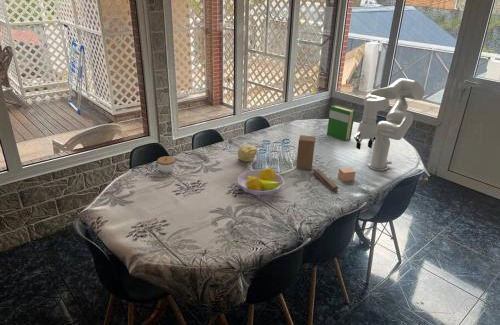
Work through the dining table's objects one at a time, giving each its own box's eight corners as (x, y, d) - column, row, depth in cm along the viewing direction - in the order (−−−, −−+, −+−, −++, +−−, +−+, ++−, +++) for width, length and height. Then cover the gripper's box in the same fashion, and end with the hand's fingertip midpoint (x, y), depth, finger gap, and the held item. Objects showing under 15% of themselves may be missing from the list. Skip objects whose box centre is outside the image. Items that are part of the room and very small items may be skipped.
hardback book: (350, 139, 288) (355, 109, 278) (345, 141, 284) (349, 111, 274) (332, 133, 300) (336, 104, 290) (326, 134, 295) (330, 106, 285)
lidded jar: (179, 171, 226) (178, 157, 222) (164, 176, 218) (163, 162, 214) (169, 165, 232) (168, 152, 228) (154, 170, 225) (153, 157, 221)
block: (348, 176, 229) (350, 167, 227) (354, 180, 224) (355, 171, 222) (337, 177, 227) (339, 168, 225) (342, 181, 222) (344, 172, 219)
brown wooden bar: (318, 173, 231) (318, 168, 230) (337, 191, 211) (338, 186, 209) (313, 173, 230) (314, 169, 229) (332, 191, 210) (333, 187, 208)
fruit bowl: (230, 182, 215) (230, 165, 210) (271, 175, 225) (272, 159, 220) (248, 206, 192) (249, 187, 187) (293, 197, 202) (295, 179, 197)
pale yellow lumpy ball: (245, 165, 237) (246, 150, 233) (234, 159, 245) (234, 144, 241) (258, 160, 244) (259, 146, 240) (247, 155, 252) (247, 140, 248)
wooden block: (311, 170, 234) (315, 141, 226) (295, 168, 236) (298, 139, 227) (312, 164, 243) (315, 136, 235) (297, 162, 245) (300, 134, 236)
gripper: (377, 117, 218) (372, 144, 226) (352, 118, 213) (347, 146, 221) (385, 121, 212) (379, 149, 219) (359, 123, 207) (354, 151, 214)
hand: (363, 147), depth 220 cm, fingers open, 7 cm apart
